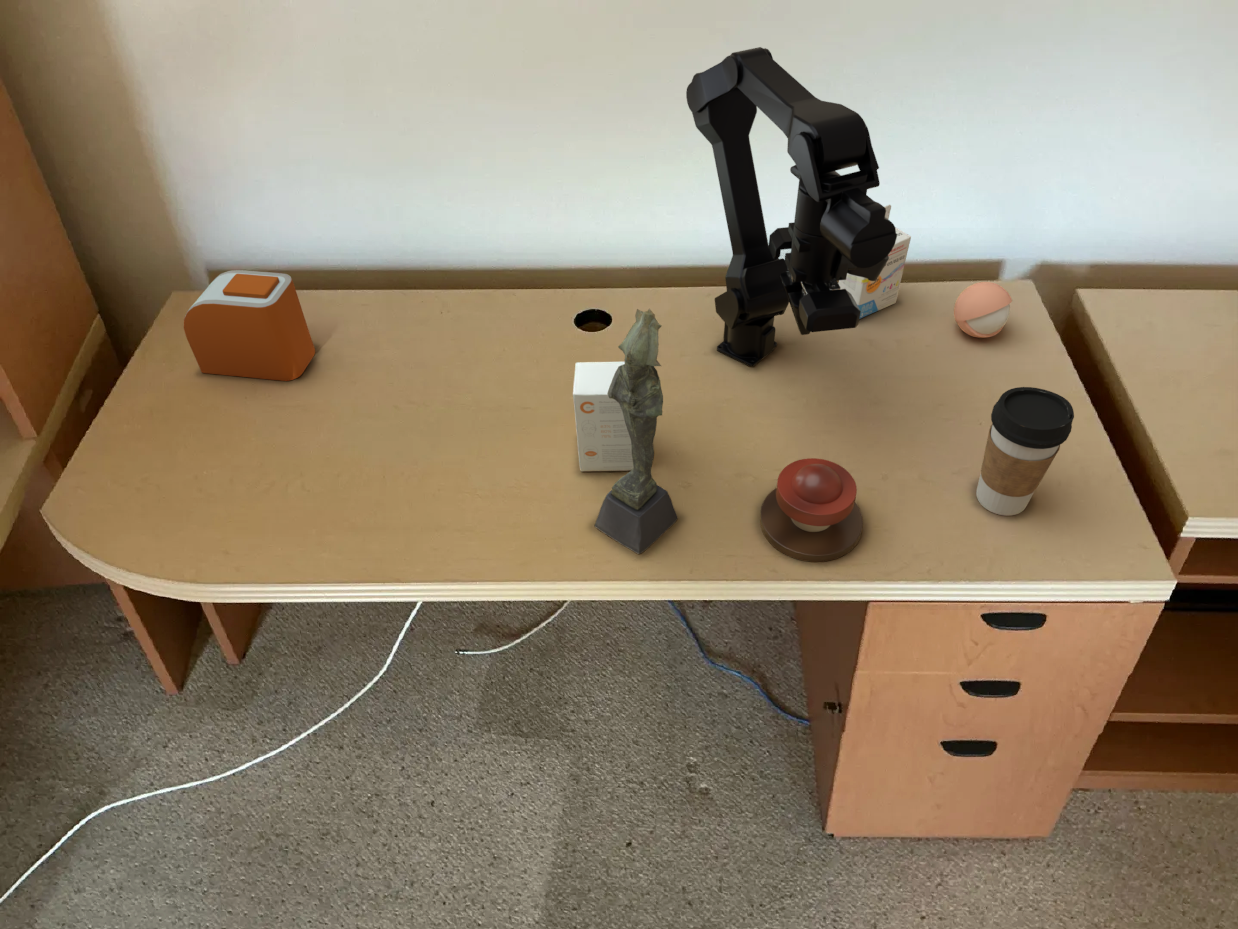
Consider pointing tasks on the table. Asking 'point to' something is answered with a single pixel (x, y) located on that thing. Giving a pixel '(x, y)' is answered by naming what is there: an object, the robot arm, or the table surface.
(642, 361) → the statue
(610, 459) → the small box
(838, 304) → the robot arm
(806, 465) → the toy mushroom
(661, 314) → the table surface
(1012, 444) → the coffee cup
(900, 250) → the ink box
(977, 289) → the toy ball
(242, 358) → the alarm clock
